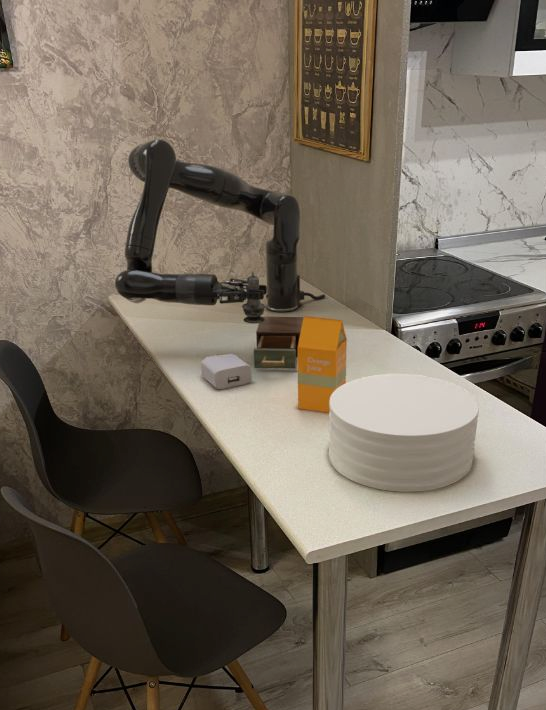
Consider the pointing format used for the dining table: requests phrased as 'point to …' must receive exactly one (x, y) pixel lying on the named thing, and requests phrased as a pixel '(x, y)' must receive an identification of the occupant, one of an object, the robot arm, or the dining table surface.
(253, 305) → the salt shaker
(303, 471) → the dining table surface
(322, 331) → the orange juice
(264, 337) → the drawer
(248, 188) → the robot arm
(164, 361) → the dining table surface
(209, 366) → the charger
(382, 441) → the plate stack
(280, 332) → the cabinet
